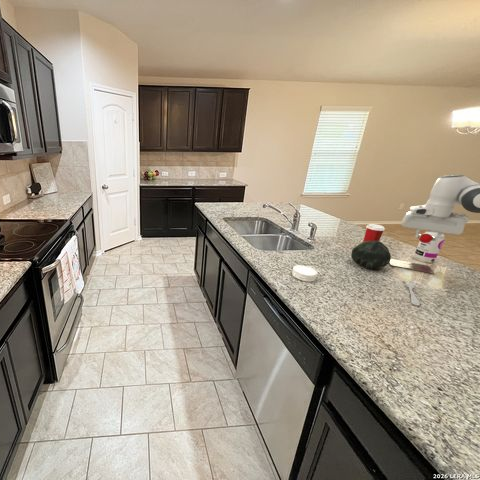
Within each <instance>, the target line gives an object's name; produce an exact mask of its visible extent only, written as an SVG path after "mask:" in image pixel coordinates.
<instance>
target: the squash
mask: <svg viewBox="0 0 480 480" xmlns="http://www.w3.org/2000/svg"><path fill="white" fill-rule="evenodd" d="M350 256H351V259H352V260H353V262H355V263H356V264H357V265H360V266H362V267H363V266H364V267H365V268H366V269H368V270H379V269H382V268H384V267H386V266H387V265H389V264H390V263H389V262H390V259H392V254H391V253H390V250H389V248H388V247H387V246H386V245H385V244H384V243H383V242H381V241H380V240H379V241H365V242H363V241H362V242H360V243H359V244H358V245H356V246H354V247H353V249H352V250H351V254H350Z"/></svg>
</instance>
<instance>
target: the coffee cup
mask: <svg viewBox="0 0 480 480" xmlns="http://www.w3.org/2000/svg"><path fill="white" fill-rule="evenodd" d="M365 228H366V230H365V232H364V237H363V241H362V242H365V241H379V242H380V240H381V238H382V236H383V233H384V231H385V230H386V229H385V227H384V226H383V225H381V224H377V223H369V224H367V225H366V226H365Z"/></svg>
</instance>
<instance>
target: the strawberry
mask: <svg viewBox="0 0 480 480" xmlns="http://www.w3.org/2000/svg"><path fill="white" fill-rule="evenodd" d="M418 240H419V242H420V241H421V242H423V243H429V242H431V241H432V236H431V235H430V234H424V233H422V234H421V237H420V239H419V238H418Z"/></svg>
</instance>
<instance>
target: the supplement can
mask: <svg viewBox="0 0 480 480" xmlns="http://www.w3.org/2000/svg"><path fill="white" fill-rule="evenodd" d="M423 234H430V235H431V236H436V235H437V234H438V233H437V232H435V231H425V232H424V233H423ZM445 240H446V237H445V234H443V235H441V236H440V237H438V238H437V240H436V241H431V242H429V243H423V242H421V241H420V240H419V242H418V244H417V247H416V249H415V252H414V253H413V258H414V260H416V261H419V262H422V263H426V264H432V263H435V262H436V260H437V258H438V255H439V253H440V251H441V249H442V247H443V244H444V242H445Z"/></svg>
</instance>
